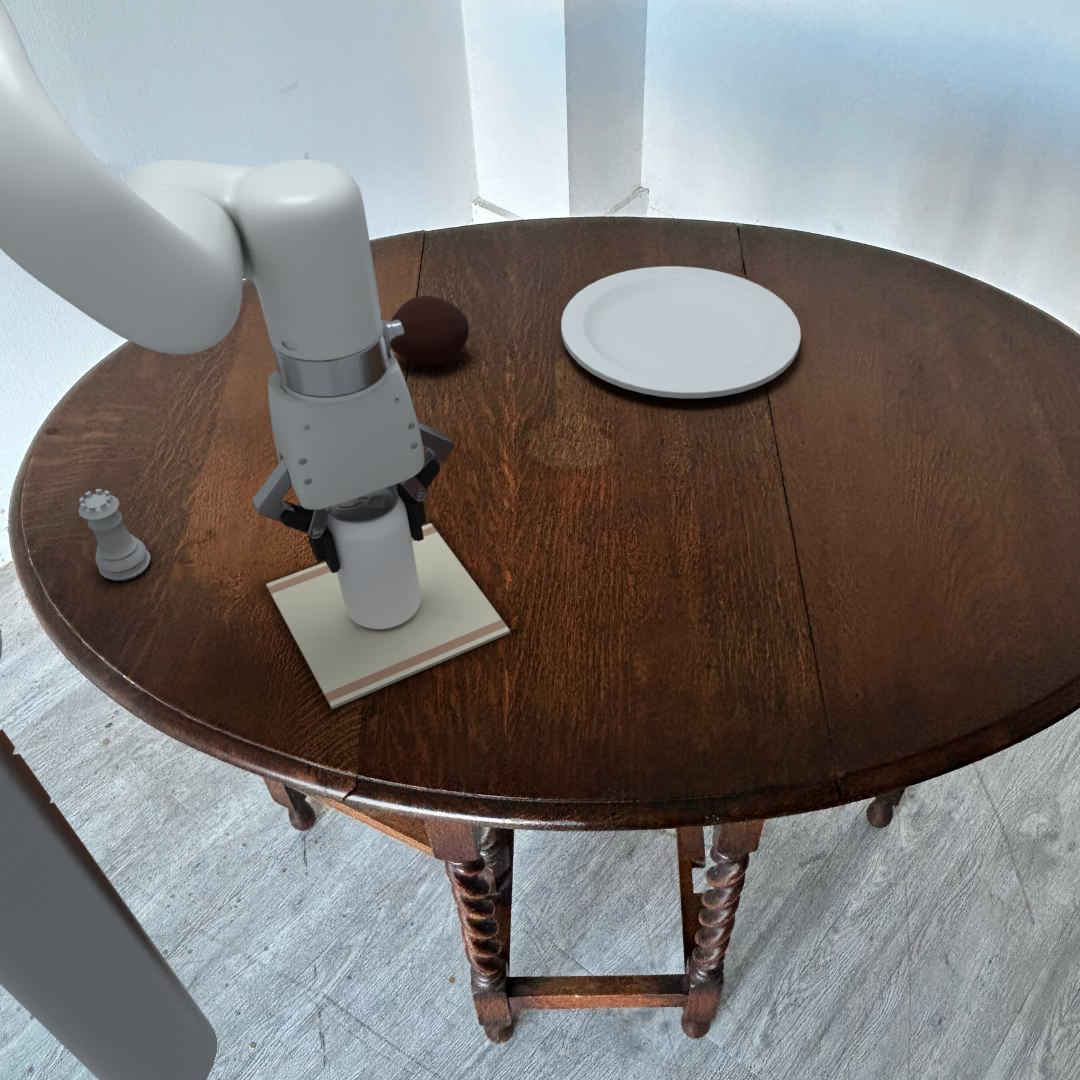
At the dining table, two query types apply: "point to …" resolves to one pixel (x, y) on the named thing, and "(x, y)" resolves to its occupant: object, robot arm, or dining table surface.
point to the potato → (430, 331)
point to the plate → (680, 332)
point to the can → (375, 559)
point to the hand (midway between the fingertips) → (371, 545)
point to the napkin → (388, 654)
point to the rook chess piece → (113, 538)
